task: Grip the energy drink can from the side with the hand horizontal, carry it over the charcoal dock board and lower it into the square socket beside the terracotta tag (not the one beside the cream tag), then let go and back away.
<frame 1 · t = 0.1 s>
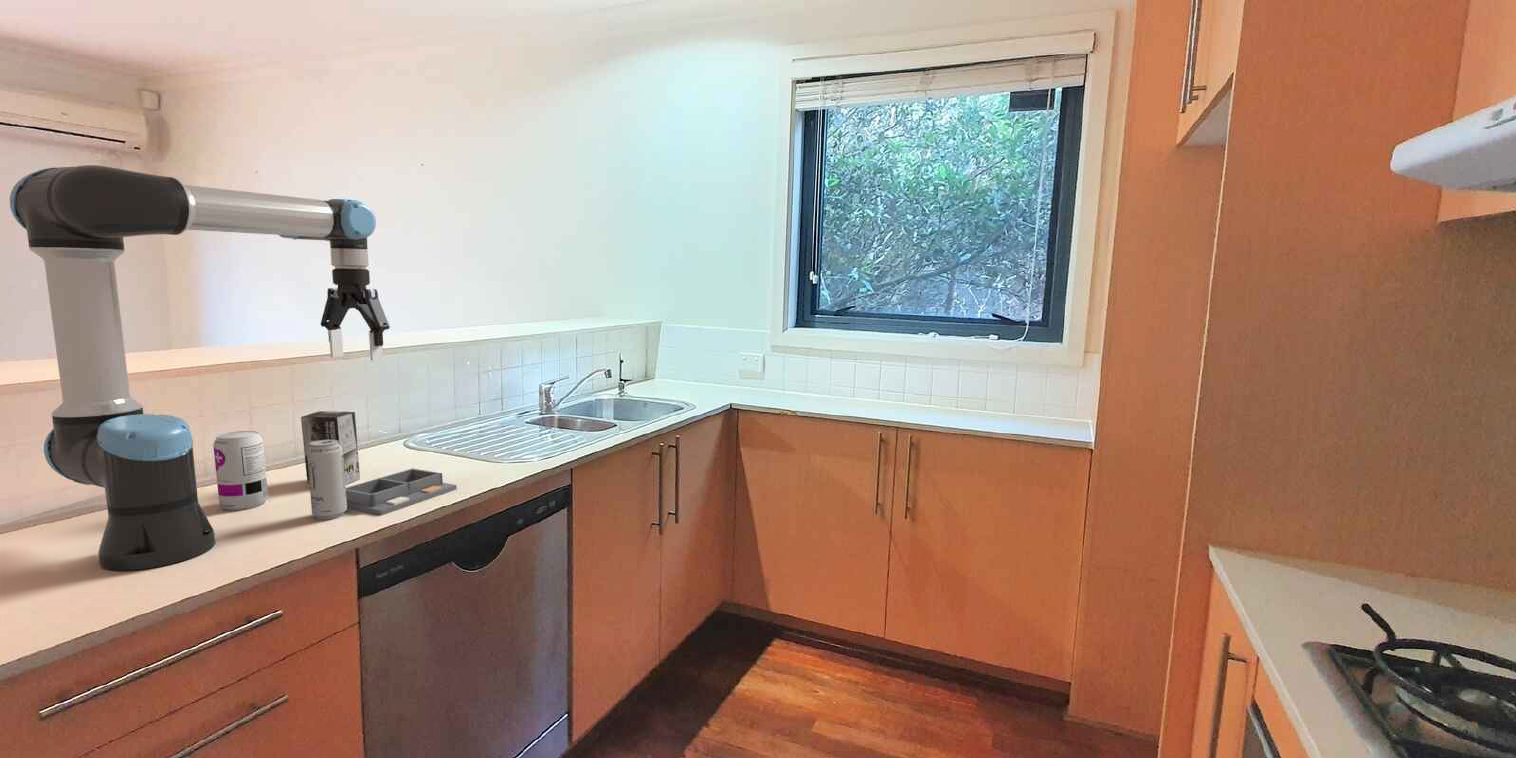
hand: (356, 358, 166), 28 cm above the countertop, tool pointing down, fingers open, 13 cm apart
coffee box: (334, 482, 162), on the countertop
energy drink can: (330, 516, 140), on the countertop
dock: (399, 497, 151), on the countertop
supplement can: (244, 505, 146), on the countertop
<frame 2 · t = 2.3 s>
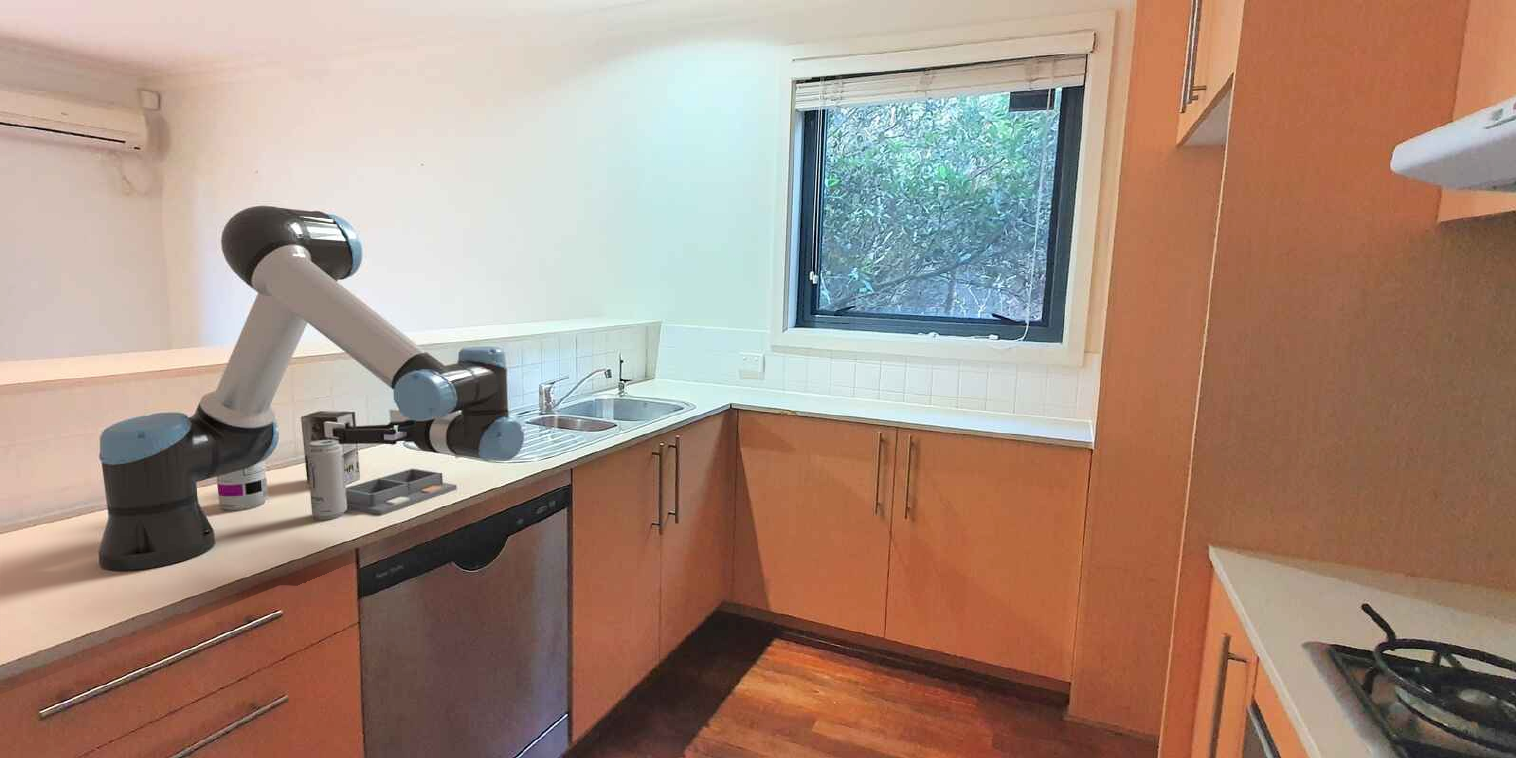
hand: (360, 422, 133), 20 cm above the countertop, tool horizontal, fingers open, 13 cm apart
nothing on the countertop moved.
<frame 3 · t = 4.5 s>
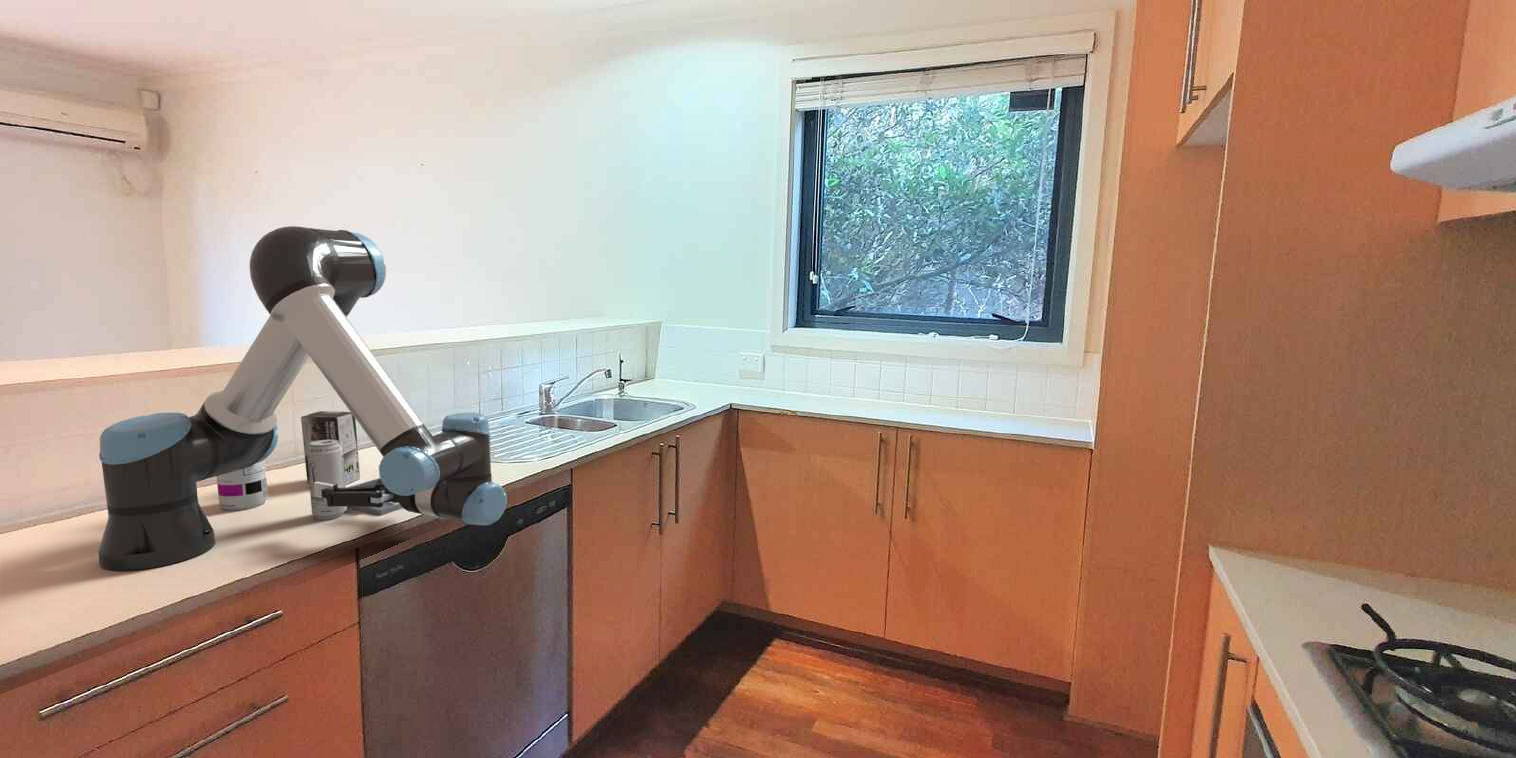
hand: (349, 479, 136), 8 cm above the countertop, tool horizontal, fingers open, 13 cm apart
nothing on the countertop moved.
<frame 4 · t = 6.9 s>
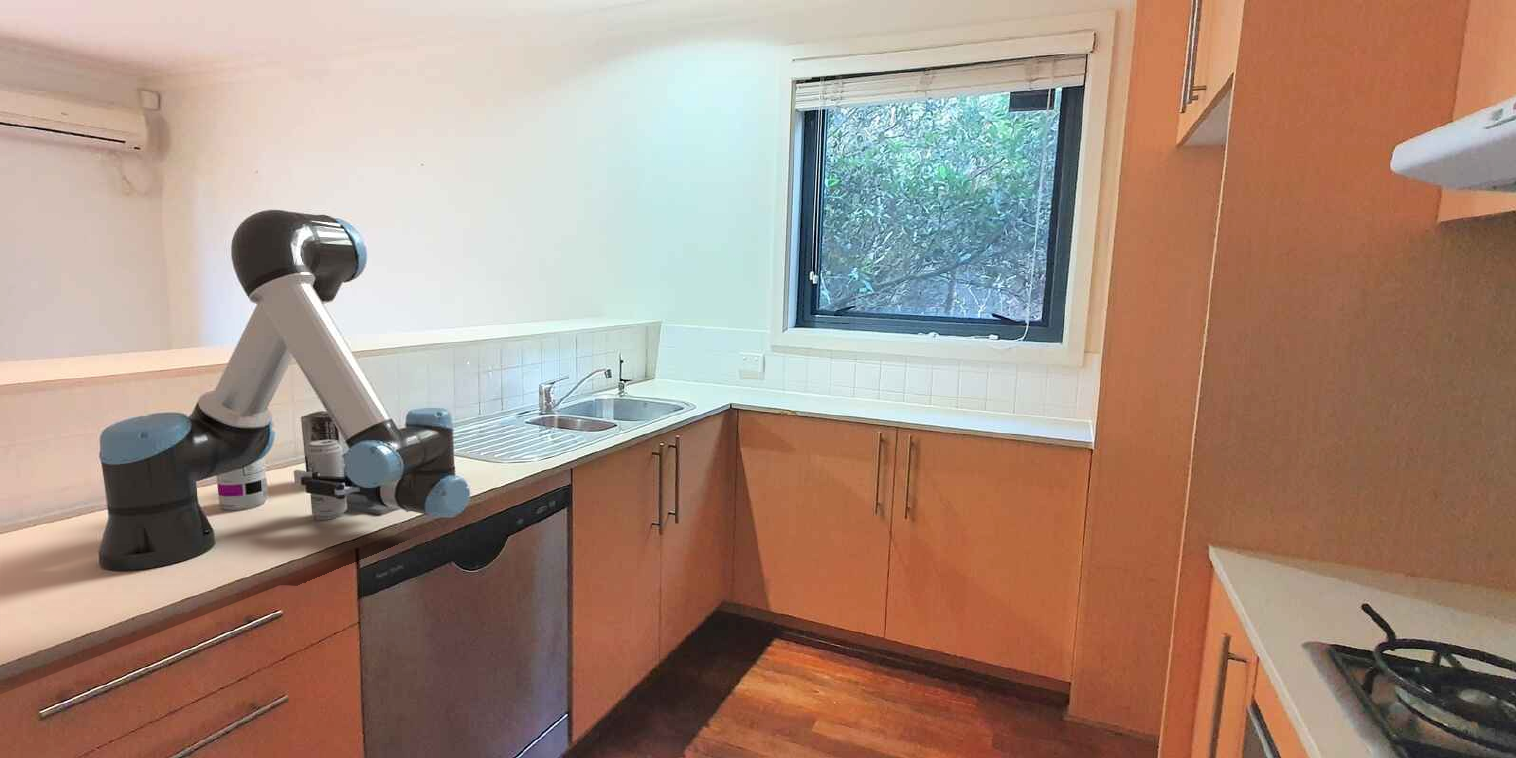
hand: (312, 472, 140), 8 cm above the countertop, tool horizontal, fingers closed on energy drink can, 6 cm apart
energy drink can: (330, 516, 140), on the countertop, touching gripper
everything else where it was.
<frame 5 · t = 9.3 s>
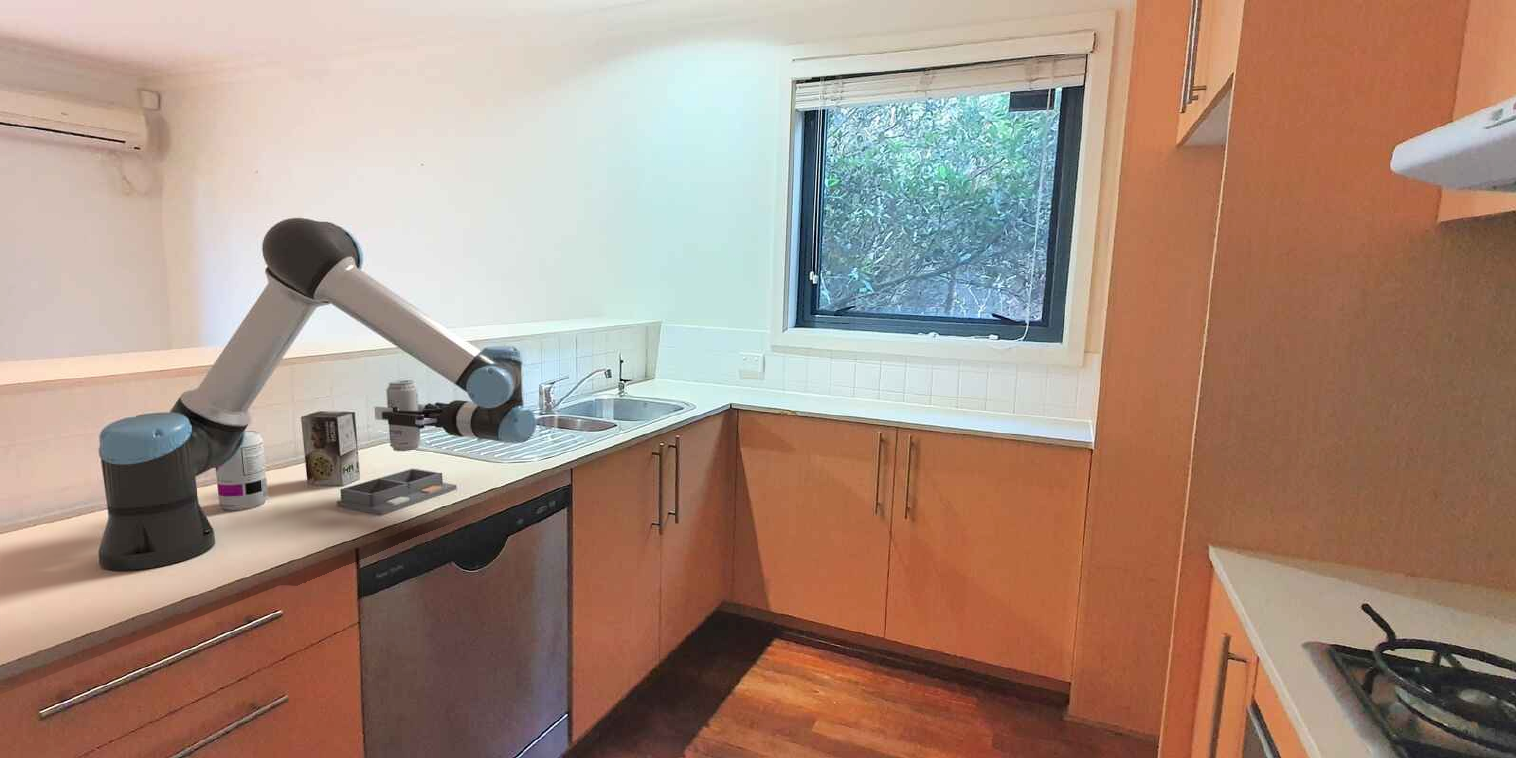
hand: (389, 410, 155), 18 cm above the countertop, tool horizontal, fingers closed on energy drink can, 6 cm apart
energy drink can: (405, 449, 155), point 9 cm above the countertop, touching gripper
everything else where it was.
when the fingers open (10 cm above the countertop, at t = 11.7 s): energy drink can drops 1 cm, resting on dock.
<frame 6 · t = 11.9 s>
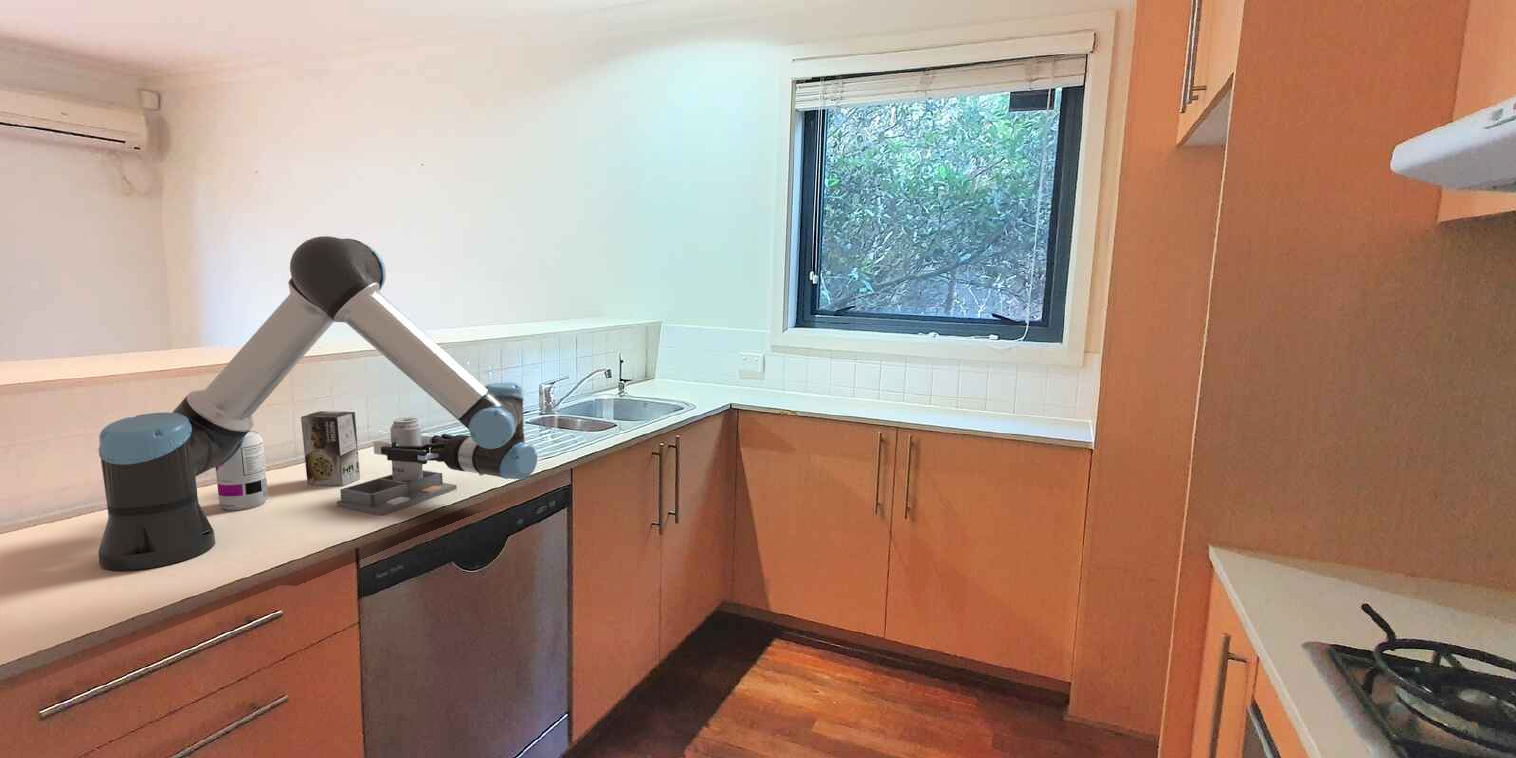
hand: (392, 443, 156), 10 cm above the countertop, tool horizontal, fingers open, 8 cm apart
energy drink can: (408, 486, 156), point 1 cm above the countertop, touching dock
everything else where it was.
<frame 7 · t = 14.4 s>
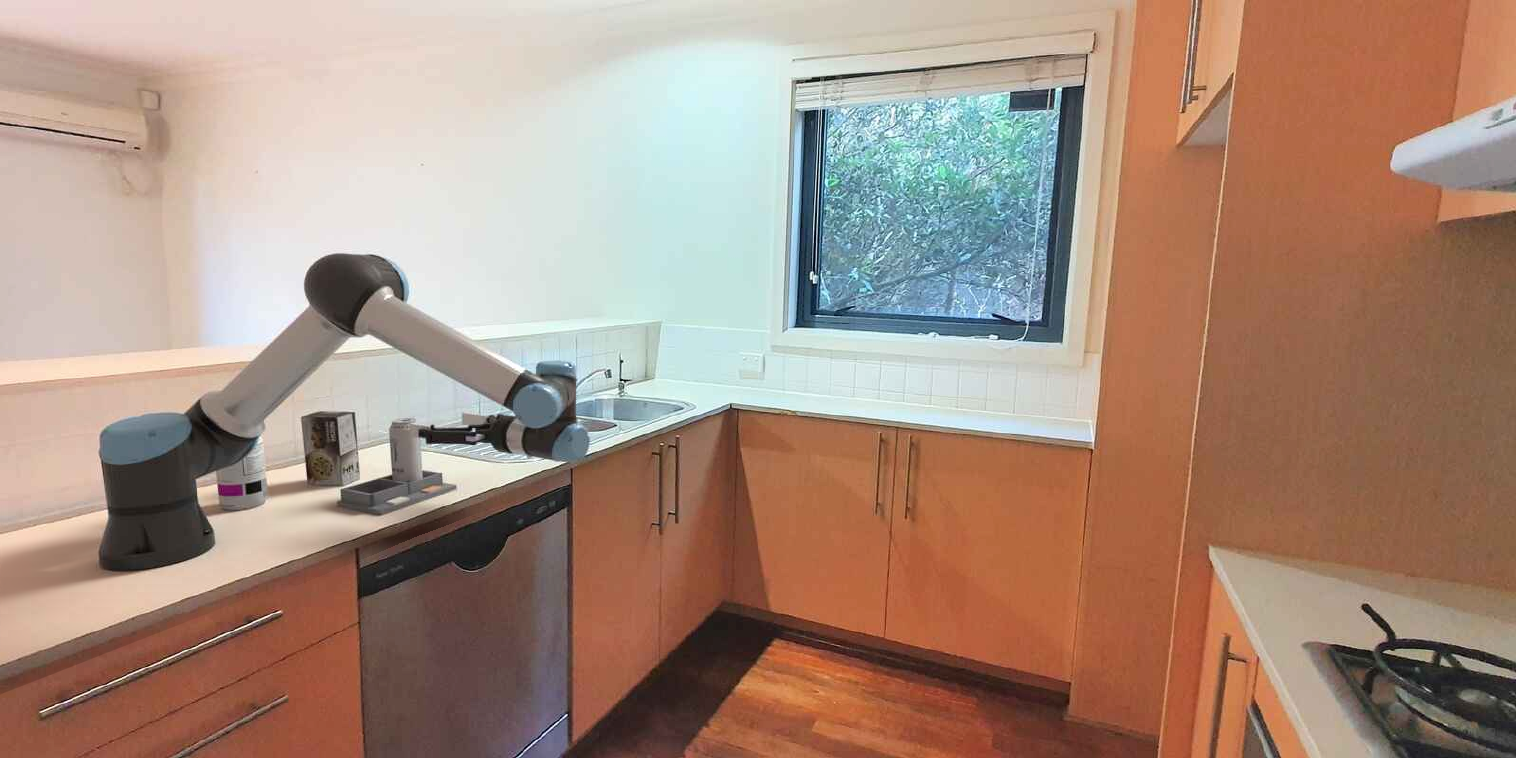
hand: (438, 423, 148), 17 cm above the countertop, tool horizontal, fingers open, 13 cm apart
nothing on the countertop moved.
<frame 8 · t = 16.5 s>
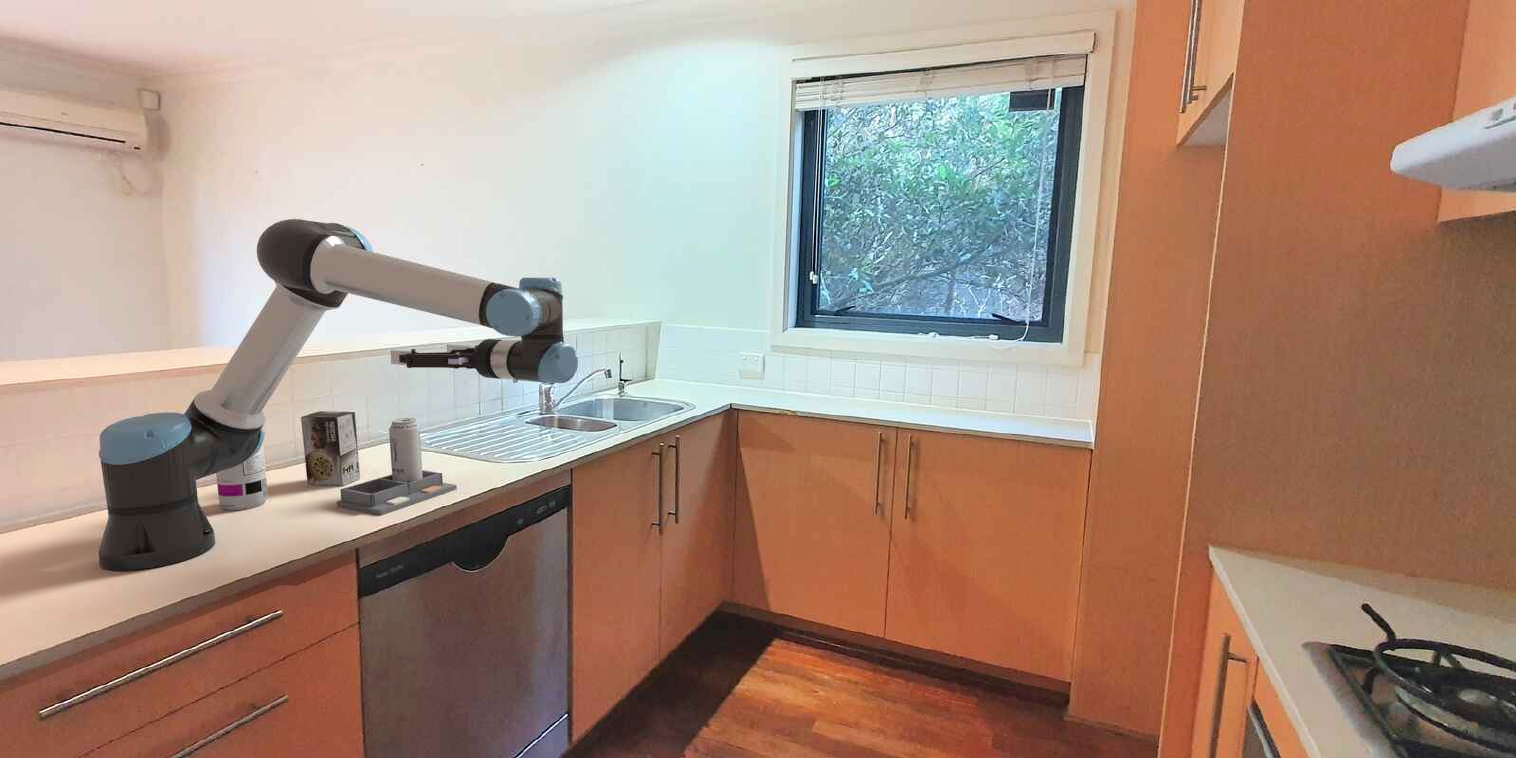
hand: (421, 353, 142), 32 cm above the countertop, tool horizontal, fingers open, 13 cm apart
nothing on the countertop moved.
at the end: energy drink can 0.9 cm from the target spot on the dock, point 0.8 cm above the dock's base; energy drink can tilted 0°; the gripper is holding nothing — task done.
